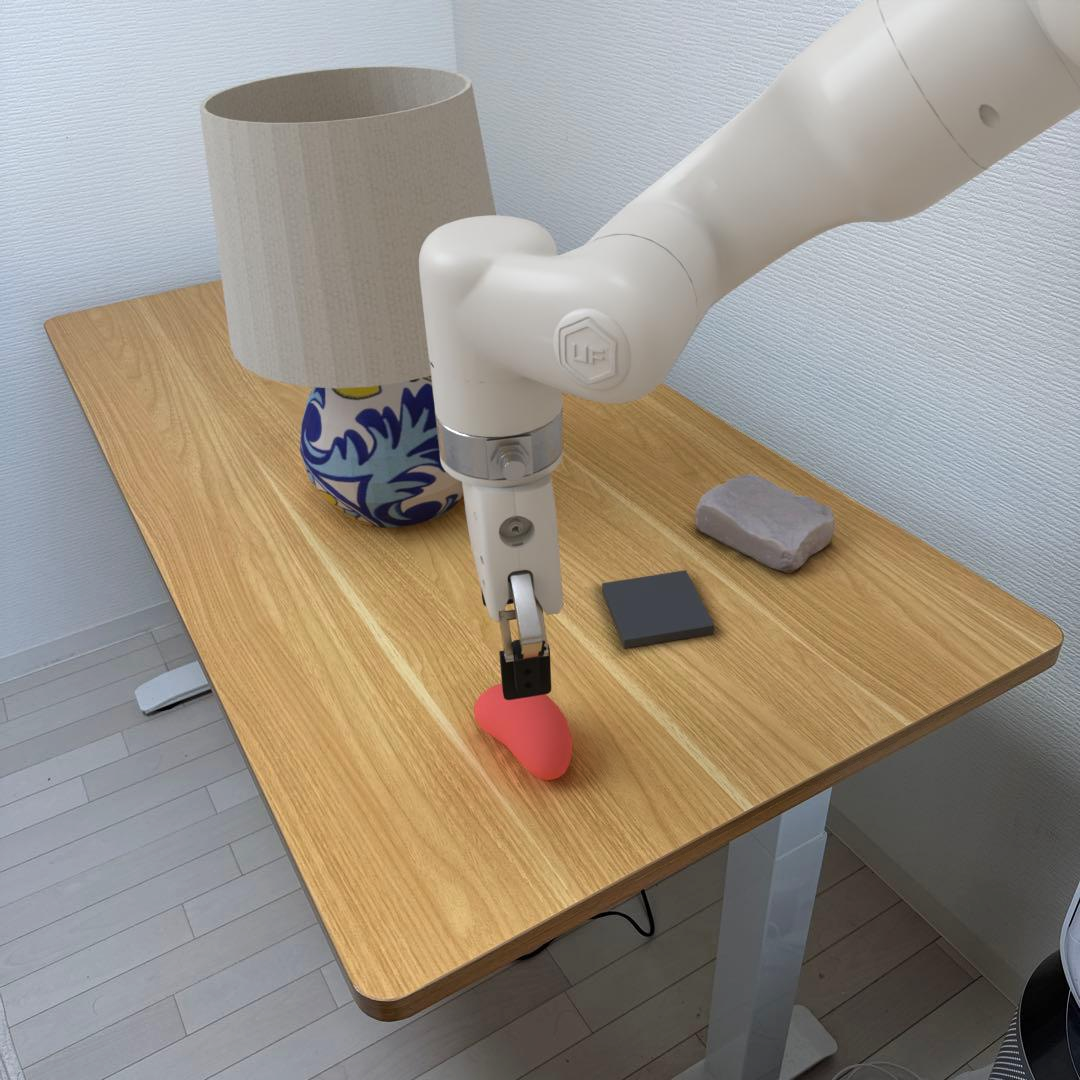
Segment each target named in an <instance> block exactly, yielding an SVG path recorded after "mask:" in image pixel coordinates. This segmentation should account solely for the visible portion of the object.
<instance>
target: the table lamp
mask: <svg viewBox="0 0 1080 1080" xmlns="http://www.w3.org/2000/svg"><path fill="white" fill-rule="evenodd" d="M472 82H473V81H472V80H471V79H470V78H469V77H468V76H467V75H465V74H463V73H461V72H457V71H453V70H450V69H444V68H438V67H432V66H431V67H430V66H419V65H361V66H359V65H358V66H344V67H343V66H342V67H333V68H321V69H314V70H305V71H297V72H292V73H286V74H285V73H284V74H278V75H274V76H268V77H264V78H258V79H254V80H250V81H245V82H242V83H239V84H238V83H237V84H235V85H231V86H229V87H226V88H223V89H220V90H218V91H216V92H214V93H211V94H209V95H208V96H207V97H205V98H204V99H203V100H201V101H200V104H199V106H198V108H199V115H200V122H201V131H202V137H203V146H204V153H205V154H204V155H205V160H206V161H205V162H206V168H207V176H208V183H209V191H210V192H209V193H210V199H211V206H212V215H213V222H214V230H215V237H216V246H217V252H218V261H219V269H220V276H221V283H222V291H223V298H224V299H223V300H224V306H225V314H226V322H227V329H228V338H229V346H230V349H231V352H232V355H233V358H234V359H235V360H236V361H237V362H238V363H239V364H240V365H241V366H242V367H243V368H244V369H245V370H248V371H249V372H252V373H253V374H255V375H258V376H259V377H262V378H265V379H268V380H271V381H274V382H278V383H281V384H286V385H293V386H300V387H306V388H312V389H311V391H310V393H309V396H308V398H307V401H306V405H305V409H304V412H303V416H302V419H301V426H300V428H301V429H300V438H299V439H300V440H299V453H300V455H301V459H302V463H303V466H304V470H305V472H306V475H307V477H308V479H309V481H310V482H311V483H312V484H313V486H314V487H315V488H316V489H317V490H318V492H319V493H320V494H321V495H322V496H323V497H324V499H325V500H326V501H327V502H328V503H329V504H330V505H331V506H333V507H334V508H335V509H337V510H338V511H339V512H340V513H342V514H343V515H345V516H346V517H347V518H349V519H351V520H352V521H354V522H356V523H359V524H360V525H361V524H362V525H364V526H365V525H366V526H370V527H374V528H386V529H388V528H389V529H391V528H393V529H394V528H405V527H411V526H416V525H420V524H423V523H426V522H429V521H432V520H434V519H436V518H439V517H440V516H442V515H444V514H446V513H447V512H449V511H450V510H451V509H452V508H454V507H455V506H456V505H457V504H458V502H459V501H460V500H461V499H462V497H464V493H463V485H462V482H461V481H459V480H457V479H455V478H453V477H452V476H450V475H449V474H448V473H447V472H446V471H445V470H444V468H443V467H442V465H441V461H440V451H439V442H438V434H437V425H436V416H435V405H434V397H433V388H432V380H431V372H430V364H429V355H428V346H427V337H426V328H425V319H424V311H423V302H422V293H421V284H420V273H419V255H420V251H421V248H422V245H423V243H424V241H425V239H426V238H427V237H428V236H429V235H430V234H431V233H432V232H433V231H434V230H436V229H437V228H439V227H441V226H443V225H445V224H447V223H450V222H453V221H457V220H460V219H464V218H469V217H475V216H489V215H497V213H496V212H497V211H496V207H495V206H496V205H495V201H494V197H493V196H494V195H493V190H492V184H491V178H490V174H489V168H488V164H487V157H486V153H485V147H484V143H483V137H482V131H481V130H482V129H481V125H480V119H479V116H478V109H477V104H476V99H475V93H474V88H473V87H474V86H473V83H472Z"/></svg>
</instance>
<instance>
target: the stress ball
mask: <svg viewBox="0 0 1080 1080" xmlns="http://www.w3.org/2000/svg"><path fill="white" fill-rule="evenodd" d="M473 714H474V718H475V721H476V723H477V724H478V726H479V727H480V728H481V729H482V730H483V731H484V732H485V733H487V734H489V735H490V736H491V737H492V738H493V739H495V740H496V741H498V742H499V743H501V744H503V745H504V746H505V747H506V748H507V749H508V750H509V751H510V753H512V754H513V756H514V757H515V758H516V759H517V760H518V761H519V762H520V763H521V764H522V766H523V767H524V768H525V770H527V771H528V772H529V773H530V774H531V775H533V777H536V778H538V779H540V780H545V781H550V780H551V781H552V780H556V779H558V778H560V777H562V776H563V775H564V774H565V773H566V772H567V770H568V768H569V766H570V763H571V760H572V755H573V735H572V732H571V729H570V725H569V723H568V719H567V718H566V716H565V715H564V713H563V711H562V710H561V709H560V707H559V706H558V705H557V704H556V702H555V701H554V700H553V699H551V697H549V695H548V694H544V695H538V696H532V697H526V698H520V699H514V700H506V699H505V698H504V696H503V691H502V683H499V684H495V685H493V686H491V687H489V688H487V689H486V690H485V691H483V692H482V693H481V694H480V695H479V696H478V697H477V699H476V701H475V703H474V707H473Z"/></svg>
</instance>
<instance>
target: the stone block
mask: <svg viewBox="0 0 1080 1080" xmlns="http://www.w3.org/2000/svg"><path fill="white" fill-rule="evenodd" d="M694 514H695V526H696V529H698V531H700V532H702V533H703V534H705V535H706V536H709V537H711V538H713V539H714V540H716V541H717V542H720V543H722V544H723V545H725V546H727V547H729V548H732V549H734V550H735V551H737V552H739V553H740V554H743V555H744V556H747V557H750V558H752V559H754V560H755V561H756V562H758V563H760V564H762V565H763V566H766V567H768V568H769V569H774V570H777V571H781V572H784V573H786V574H792V573H793V572H794V571H796V570H798V569H799V568H801V567H802V566H804V564H805V563H806V562H807V560H808V559H809V558H810V557H811V556H813V555H815V554H817V553H818V552H820V551H822V550H823V549H824V548H826V547H827V546H828V545H829V544H830V542H831V540H832V538H833V535H834V533H835V528H836V524H835V516H834V515H835V514H834V512H833V511H832V510H831V508H830V507H829V506H827V505H824V504H822V503H819V502H817V501H816V500H814V499H813V498H811V497H808V496H805V495H797V494H796V493H794V492H792V491H790V490H788V489H786V488H783V487H780V486H778V485H776V483H774V482H772V481H770V480H768V479H766V478H763V477H761V476H759V475H756V474H753V473H752V474H751V473H749V474H748V473H745V474H743V475H740V476H737V477H735V478H734V477H733V478H729V479H728V480H727V481H726V482H724V483H722V484H717V485H716V486H715V487H712V488H711V489H709V490H707V491H706V492H705V493H704V494H703V495H702V496H701V497H700V499H699V501H698V503H697V505H696V508H695V513H694Z"/></svg>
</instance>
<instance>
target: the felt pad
mask: <svg viewBox="0 0 1080 1080" xmlns="http://www.w3.org/2000/svg"><path fill="white" fill-rule="evenodd" d="M601 592H602V595H603V597H604V601H605V603H606V605H607V608H608V610H609V614H610V615H611V618H612V621H613V624H614V626H615V629H616V632H617V634H618V637H619V639H620V642H621V644H622V646H623V647H622V648H623V649H629V648H636V647H637V648H638V647H642V646H643V647H644V646H648V645H654V644H661V643H667V642H673V641H679V640H684V639H690V638H696V637H702V636H709V635H713V634H715V624H714V622H713V620H712V618H711V616H710V614H709V612H708V610H707V608H706V606H705V604H704V603H703V601H702V599H701V597H700V594H699V593H698V591H697V588H696V587H695V585H694V583H693V581H692V579H691V577H690V575H689V574H688V571H687V570H677V571H672V572H666V573H660V574H659V573H658V574H652V575H645V576H641V577H634V578H633V577H632V578H628V579H627V578H626V579H621V580H615V581H614V580H613V581H609V582H602V583H601Z"/></svg>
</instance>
